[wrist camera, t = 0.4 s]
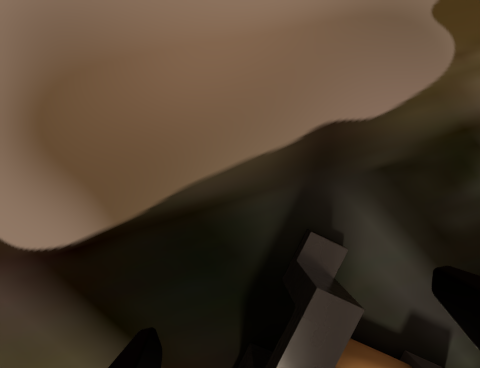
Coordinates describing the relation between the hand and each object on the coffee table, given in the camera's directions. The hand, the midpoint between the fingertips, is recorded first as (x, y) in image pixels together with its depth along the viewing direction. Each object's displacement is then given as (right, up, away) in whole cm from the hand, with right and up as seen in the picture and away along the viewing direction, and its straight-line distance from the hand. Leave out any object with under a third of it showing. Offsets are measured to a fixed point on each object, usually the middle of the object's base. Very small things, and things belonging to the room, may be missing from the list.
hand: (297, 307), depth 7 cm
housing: (+2, -9, +16) cm, 19 cm away
